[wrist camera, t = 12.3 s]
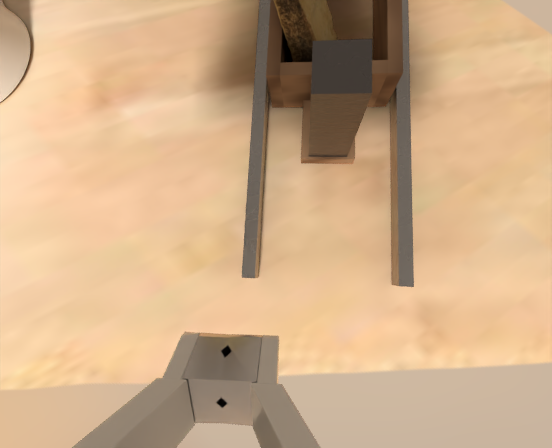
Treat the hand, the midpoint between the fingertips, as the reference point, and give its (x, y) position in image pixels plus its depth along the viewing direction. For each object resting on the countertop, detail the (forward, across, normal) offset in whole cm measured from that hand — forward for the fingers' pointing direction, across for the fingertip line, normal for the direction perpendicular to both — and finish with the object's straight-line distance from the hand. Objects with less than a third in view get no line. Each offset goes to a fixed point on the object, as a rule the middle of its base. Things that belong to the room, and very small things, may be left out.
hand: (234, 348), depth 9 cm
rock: (+29, -4, -12) cm, 32 cm away
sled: (+27, -6, -10) cm, 30 cm away
